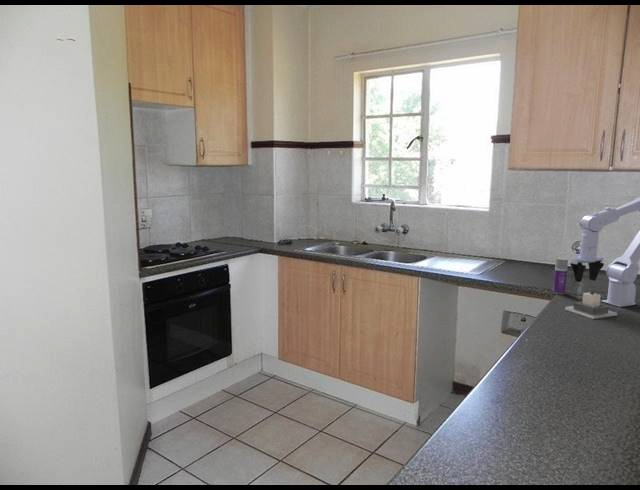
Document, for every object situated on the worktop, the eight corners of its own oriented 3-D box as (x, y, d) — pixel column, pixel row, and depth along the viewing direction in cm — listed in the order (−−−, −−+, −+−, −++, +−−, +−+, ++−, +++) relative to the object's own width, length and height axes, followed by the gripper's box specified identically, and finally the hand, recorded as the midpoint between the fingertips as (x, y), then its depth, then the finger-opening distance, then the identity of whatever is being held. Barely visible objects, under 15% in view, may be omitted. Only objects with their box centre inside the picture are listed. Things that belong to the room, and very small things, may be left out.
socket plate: (587, 306, 182) (588, 298, 182) (616, 315, 171) (617, 307, 171) (564, 309, 178) (565, 301, 178) (593, 318, 167) (594, 310, 167)
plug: (589, 307, 177) (591, 289, 176) (598, 310, 174) (601, 291, 173) (581, 308, 176) (583, 290, 175) (591, 311, 172) (593, 292, 171)
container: (558, 294, 199) (561, 259, 197) (550, 291, 204) (553, 257, 201) (567, 294, 200) (570, 259, 198) (559, 291, 205) (562, 257, 203)
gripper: (593, 244, 188) (589, 277, 190) (566, 245, 183) (562, 279, 185) (609, 246, 182) (605, 281, 184) (582, 248, 176) (578, 284, 179)
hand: (585, 280), depth 184 cm, fingers open, 7 cm apart
